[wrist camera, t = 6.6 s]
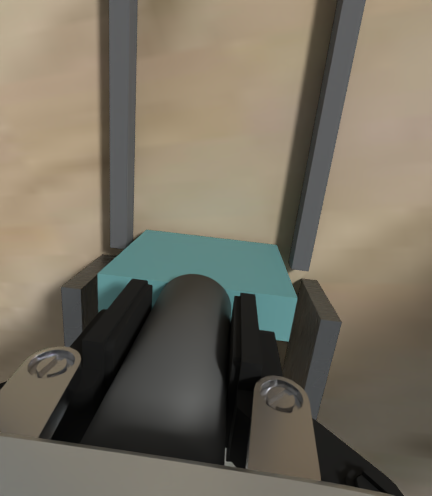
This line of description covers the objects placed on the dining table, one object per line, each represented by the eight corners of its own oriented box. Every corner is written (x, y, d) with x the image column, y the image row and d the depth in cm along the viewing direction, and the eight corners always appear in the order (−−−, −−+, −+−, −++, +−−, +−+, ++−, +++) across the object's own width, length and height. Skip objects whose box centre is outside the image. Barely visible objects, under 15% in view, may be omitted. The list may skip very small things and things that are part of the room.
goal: (317, 280, 20) (365, 362, 12) (282, 434, 24) (303, 567, 16) (102, 254, 20) (21, 317, 13) (104, 409, 24) (43, 528, 17)
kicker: (278, 237, 19) (375, 457, 5) (270, 282, 20) (337, 566, 6) (146, 221, 19) (-69, 396, 6) (145, 267, 20) (-44, 509, 7)
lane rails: (399, -201, 13) (415, -235, 12) (304, 264, 20) (308, 271, 18) (118, -220, 13) (107, -254, 12) (117, 241, 20) (110, 247, 19)
